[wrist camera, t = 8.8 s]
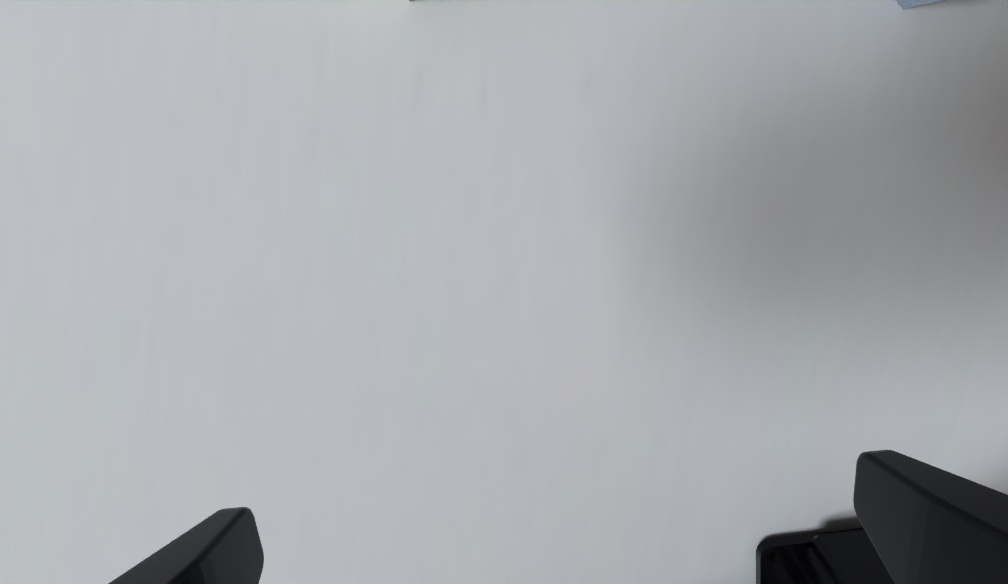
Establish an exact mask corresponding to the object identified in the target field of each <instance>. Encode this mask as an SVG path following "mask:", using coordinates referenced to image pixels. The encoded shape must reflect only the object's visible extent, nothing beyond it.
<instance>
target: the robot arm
mask: <svg viewBox="0 0 1008 584" xmlns="http://www.w3.org/2000/svg"><path fill="white" fill-rule="evenodd" d="M854 508H855V512H856V514H857V517H858V519H859V521H860V523H861V524H862V526H863V528H861V529H852V530H844V531H835V532H827V533H818V534H810V535H801V536H793V537H784V538H776V539H768V540H765V541H763V542H761V543H760V544H759V545H758V547H757V550H756V584H1008V495H1007V494H1004V493H1001V492H999V491H996V490H994V489H991V488H988V487H986V486H983V485H981V484H978V483H976V482H973V481H970V480H968V479H965V478H963V477H960V476H957V475H955V474H952V473H950V472H947V471H944V470H942V469H939V468H937V467H934V466H931V465H929V464H926V463H924V462H921V461H918V460H916V459H913V458H911V457H908V456H906V455H903V454H900V453H898V452H895V451H892V450H880V451H869V452H863V453H862V454H860V455H859V457H858V459H857V465H856V476H855V487H854ZM771 552H774V553H773V554H771V555H768V554H769V553H771ZM263 563H264V555H263V549H262V545H261V541H260V537H259V534H258V530H257V526H256V522H255V518H254V515H253V513H252V511H251V510H250V509H249V508H247V507H239V508H227V509H221V510H219V511H217V512H216V513H214V514H213V515H211V516H210V517H208V518H207V519H205V520H204V521H202V522H201V523H199V524H198V525H196V526H195V527H193V528H192V529H190V530H189V531H187V532H186V533H184V534H182V535H181V536H179V537H178V538H176V539H175V540H173V541H172V542H170V543H169V544H167V545H166V546H164V547H163V548H161V549H160V550H158V551H157V552H155V553H154V554H152V555H151V556H149V557H148V558H146V559H145V560H143V561H142V562H140V563H139V564H137V565H136V566H134V567H133V568H131V569H130V570H128V571H127V572H125V573H124V574H122V575H121V576H119V577H118V578H116V579H115V580H113V581H112V582H110V583H109V584H259V580H260V577H261V573H262V569H263Z"/></svg>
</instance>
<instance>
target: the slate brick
mask: <svg viewBox="0 0 1008 584" xmlns="http://www.w3.org/2000/svg"><path fill="white" fill-rule="evenodd" d="M895 1H896V2H897V3H898V4H899V5H900V6H901V7H902V8H903V9H906V8H910V7H915V6H919V5H924V4H929V3H933V2H938V1H942V0H895Z"/></svg>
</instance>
